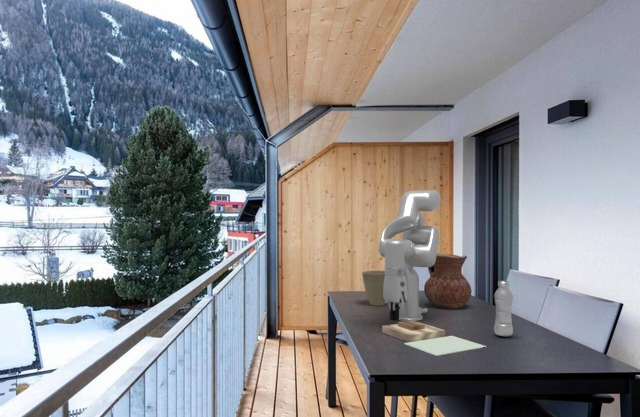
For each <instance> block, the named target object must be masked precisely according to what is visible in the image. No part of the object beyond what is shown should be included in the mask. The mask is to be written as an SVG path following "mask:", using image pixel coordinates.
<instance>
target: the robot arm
mask: <svg viewBox="0 0 640 417" xmlns="http://www.w3.org/2000/svg"><path fill="white" fill-rule="evenodd" d="M400 198H401V199H400V201H399V206H398V210H397V214H396V218H395V219H394V220H392V221H391V222H389V223H388V224H387V225H386V227H384V229H383V231H382V233H381V236H380V238H379V243H378V253H379V255H380V256H381V257H383V258H384V271H385V278H384V286H383V297H384V299H385V302H386V305H388V309H389V321H392V322H394V321H395V322H396V321H399V322H402V321H410V320H411V321H414V322H419V321H423V319H424V318H423V315H422V314H425V313H428V311H429V310H428V308H427V307H423V308H421V307H420V277H419V274H418V273H417V271H416V270H415V268H428V267H432V266H433V265H434V264H435V261H436V256H437V254H438V249H439V243H440V232H439V229H438V228H437V227H436V226H434V225H425V223H426V221H425V220H426V219H425V218H424V216H423V215H422V214H421V213H420V212H433V211H435V210H437V209H439V207H440V205H441V200H442V199H441V194H440V193H439V191H437V190H410V191H409V190H408V191H405V192H404V193H403V194H402V196H401V197H400ZM401 233H402V236H401V239H397V238H396V239H392V238H393V237H395V236H396V235H399V234H401Z"/></svg>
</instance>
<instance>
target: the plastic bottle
mask: <svg viewBox="0 0 640 417" xmlns="http://www.w3.org/2000/svg"><path fill="white" fill-rule="evenodd" d="M497 286H498V288H497V289H496V291H495V292H494V296H493V297H494V304H495V322H494V326H493V331H494V333H495V335H496V336H499V337H502V336H503V338H504V337H511V336H512V335H513V332H514V327H513V322H512V308H513V307H512V306H513V299H514V296H513V293H512V291H511V289H509V287H510V282H509V281H508V280H498V283H497Z"/></svg>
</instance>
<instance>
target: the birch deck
mask: <svg viewBox="0 0 640 417" xmlns="http://www.w3.org/2000/svg"><path fill="white" fill-rule="evenodd" d="M416 322H417V323H421V324H424V325H425V329H420V330H413V331H411V330H408V329H405V328H402V327H399V326H398V323H394V324H386V325H382V326H381V327H382V329H381V330H382V333H383V334H385V335H388V336H390V337H393V338H397V339H399V340H402V341H404V342H406V343H408V342H415V341H421V340H427V339H434V338H440V337H446V332H445V331H446V330H445V329H441V328H438V327H435V326H433V325H428V324H425V323H422V322H419V321H416Z"/></svg>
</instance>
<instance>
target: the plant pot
mask: <svg viewBox="0 0 640 417" xmlns="http://www.w3.org/2000/svg"><path fill="white" fill-rule="evenodd" d="M361 274H362V275H361V276H362V281H363V287H364V290H365V294H366V297H367V301H368V302H369V305H370V306H373V307H384V306H386V305H387V303H386V302H385V299H384V297H383V286H384V278H385V270H366V271H365V270H364V271H362V272H361Z"/></svg>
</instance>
